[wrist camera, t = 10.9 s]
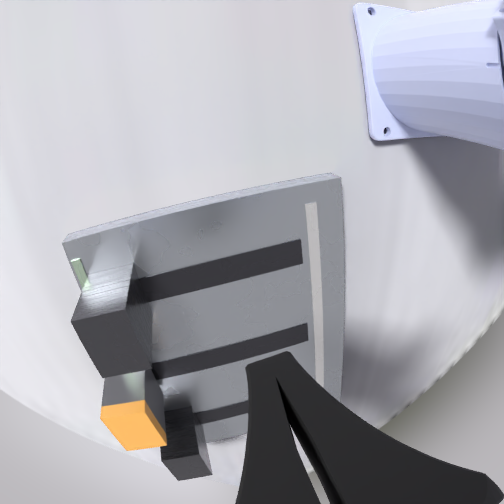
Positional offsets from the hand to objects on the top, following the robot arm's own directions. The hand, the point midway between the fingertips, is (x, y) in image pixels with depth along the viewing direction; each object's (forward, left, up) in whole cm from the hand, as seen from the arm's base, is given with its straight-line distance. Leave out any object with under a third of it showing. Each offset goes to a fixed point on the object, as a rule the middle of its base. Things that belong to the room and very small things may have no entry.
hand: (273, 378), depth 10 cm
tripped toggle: (+7, +6, -7) cm, 11 cm away
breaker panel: (+1, +6, -9) cm, 10 cm away
